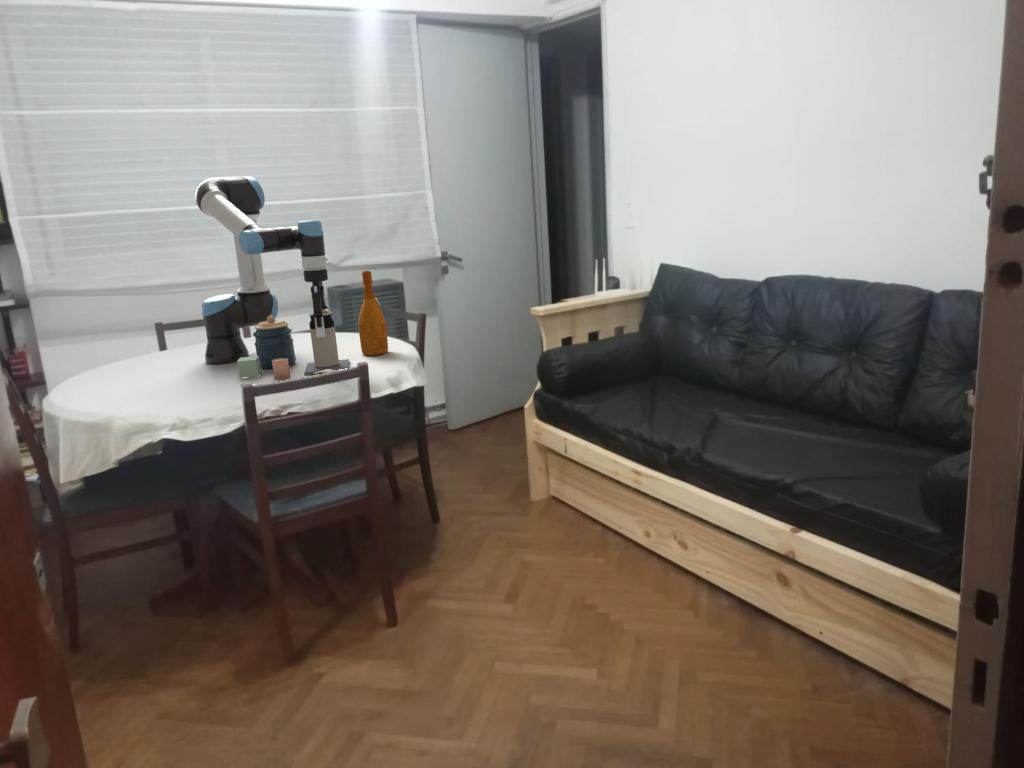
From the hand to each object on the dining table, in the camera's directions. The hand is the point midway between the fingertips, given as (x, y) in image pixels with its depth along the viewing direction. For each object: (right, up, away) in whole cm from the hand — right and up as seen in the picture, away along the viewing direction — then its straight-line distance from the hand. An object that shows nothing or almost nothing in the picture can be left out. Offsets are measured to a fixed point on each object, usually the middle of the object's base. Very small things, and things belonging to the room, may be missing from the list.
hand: (322, 332), depth 242 cm
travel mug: (+1, -11, +3) cm, 11 cm away
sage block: (-24, -15, -1) cm, 28 cm away
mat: (+1, -12, +3) cm, 12 cm away
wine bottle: (+14, -6, +22) cm, 26 cm away
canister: (-19, -11, +12) cm, 25 cm away
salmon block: (-11, -15, -6) cm, 20 cm away
